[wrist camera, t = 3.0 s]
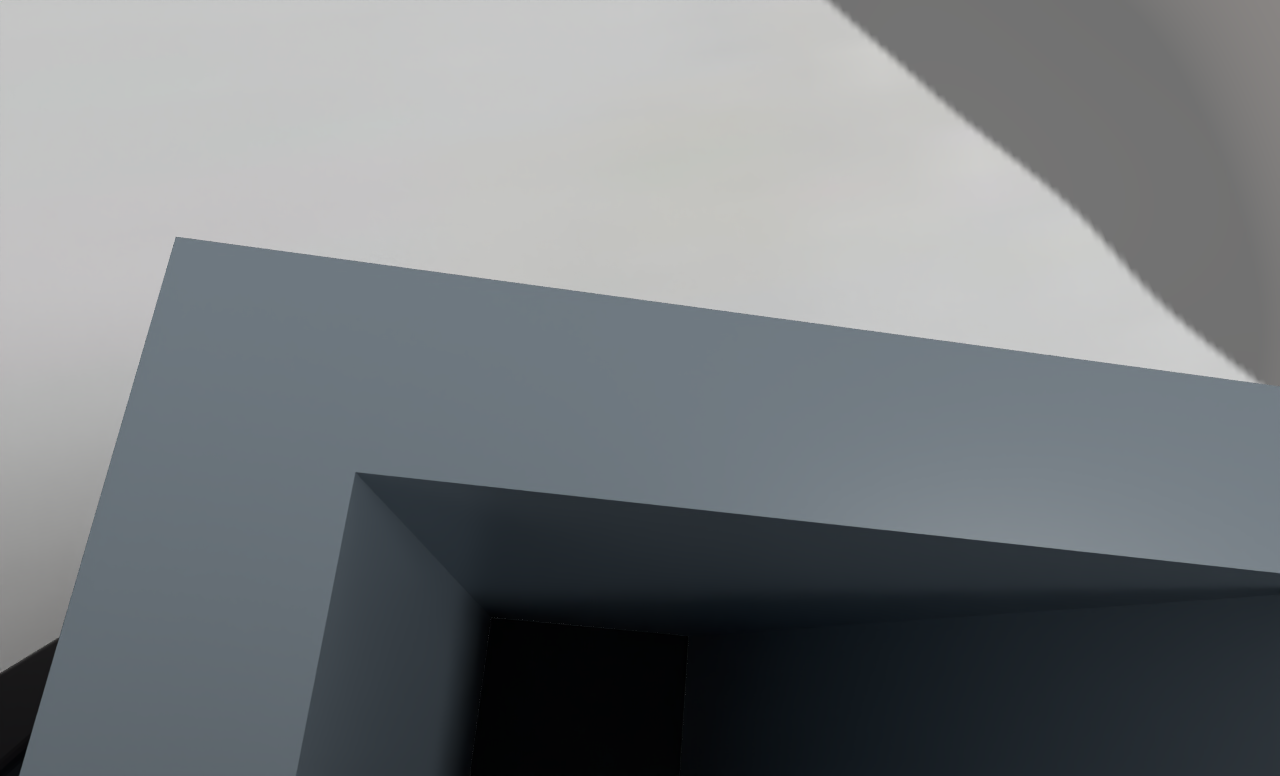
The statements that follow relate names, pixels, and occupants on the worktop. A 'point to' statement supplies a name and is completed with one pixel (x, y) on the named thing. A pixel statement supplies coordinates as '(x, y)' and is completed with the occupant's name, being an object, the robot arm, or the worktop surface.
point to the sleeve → (658, 536)
